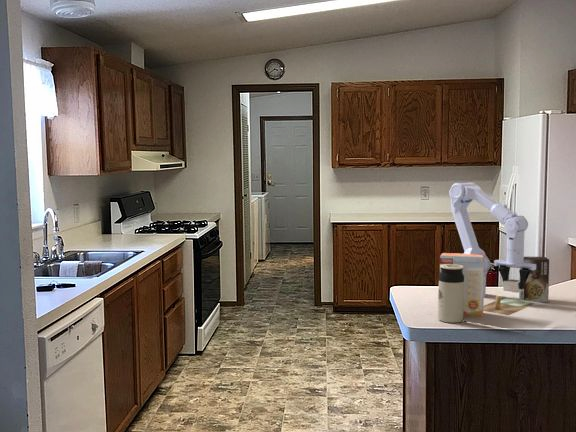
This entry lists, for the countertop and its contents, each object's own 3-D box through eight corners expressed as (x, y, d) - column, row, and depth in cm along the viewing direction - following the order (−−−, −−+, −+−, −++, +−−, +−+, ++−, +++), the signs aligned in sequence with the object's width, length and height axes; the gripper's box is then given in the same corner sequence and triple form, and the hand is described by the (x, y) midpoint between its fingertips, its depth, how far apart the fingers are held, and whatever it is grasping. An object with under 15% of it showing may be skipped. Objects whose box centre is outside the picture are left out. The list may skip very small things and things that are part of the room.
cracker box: (483, 315, 208) (485, 254, 206) (482, 319, 203) (483, 256, 201) (441, 311, 213) (442, 251, 211) (438, 316, 208) (439, 254, 206)
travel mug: (462, 317, 205) (463, 264, 203) (463, 324, 197) (465, 268, 196) (437, 316, 207) (438, 263, 205) (438, 322, 199) (439, 267, 197)
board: (474, 312, 213) (475, 296, 212) (502, 300, 229) (503, 286, 229) (508, 318, 205) (509, 301, 204) (535, 306, 221) (535, 291, 220)
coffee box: (543, 298, 233) (544, 256, 231) (548, 302, 226) (550, 259, 225) (518, 298, 233) (519, 256, 232) (522, 302, 227) (524, 258, 226)
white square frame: (503, 290, 221) (503, 281, 220) (509, 288, 225) (509, 278, 224) (517, 292, 217) (518, 283, 217) (523, 290, 221) (523, 280, 221)
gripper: (490, 249, 222) (489, 286, 223) (531, 253, 212) (529, 292, 213) (499, 247, 227) (498, 283, 228) (539, 251, 217) (537, 289, 218)
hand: (514, 287), depth 221 cm, fingers closed on white square frame, 5 cm apart
